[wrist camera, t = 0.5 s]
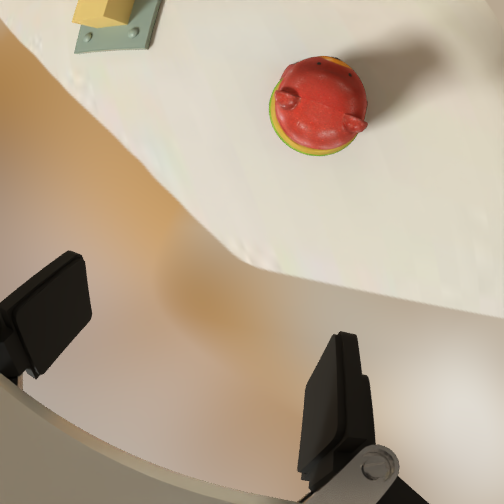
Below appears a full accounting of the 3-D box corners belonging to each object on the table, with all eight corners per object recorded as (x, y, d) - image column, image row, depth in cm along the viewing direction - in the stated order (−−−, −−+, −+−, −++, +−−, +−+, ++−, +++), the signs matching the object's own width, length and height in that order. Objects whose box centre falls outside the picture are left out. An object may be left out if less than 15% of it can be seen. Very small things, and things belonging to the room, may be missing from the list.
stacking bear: (371, 96, 30) (425, 79, 14) (337, 165, 35) (362, 204, 19) (291, 58, 30) (275, 7, 14) (258, 128, 34) (217, 136, 19)
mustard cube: (106, -4, 27) (83, -13, 21) (137, -10, 26) (115, -22, 21) (97, 28, 29) (71, 22, 24) (127, 24, 29) (103, 16, 24)
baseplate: (98, -18, 26) (94, -20, 25) (171, -31, 25) (167, -34, 24) (78, 53, 32) (72, 53, 31) (147, 49, 31) (143, 47, 30)
